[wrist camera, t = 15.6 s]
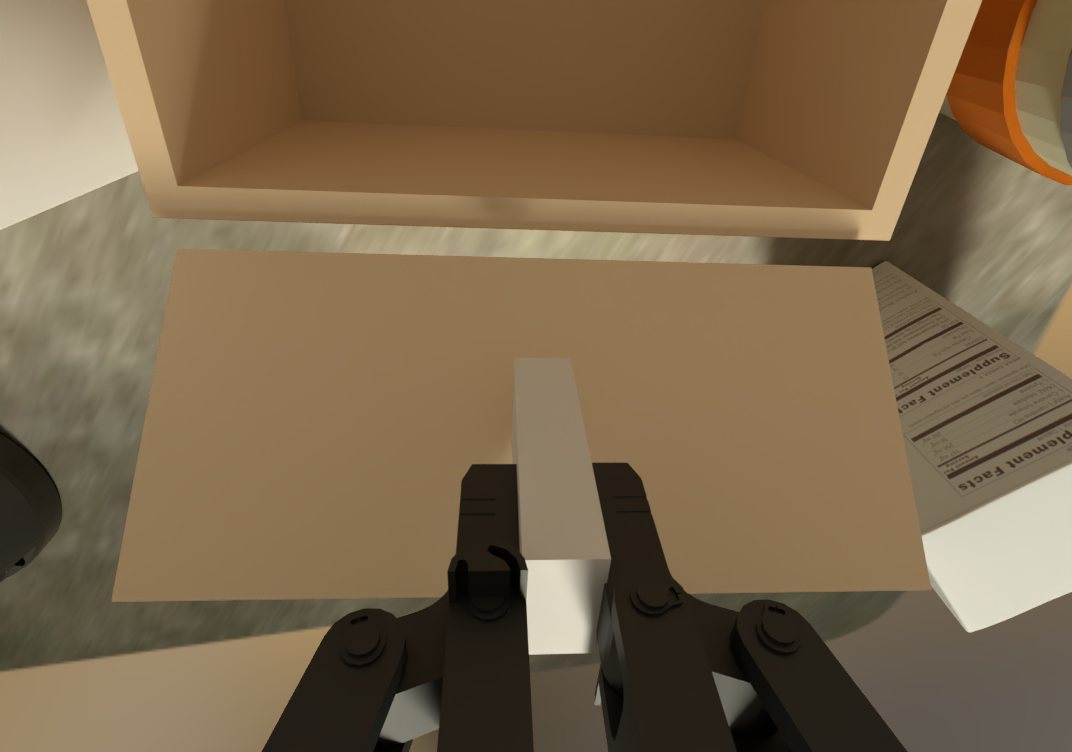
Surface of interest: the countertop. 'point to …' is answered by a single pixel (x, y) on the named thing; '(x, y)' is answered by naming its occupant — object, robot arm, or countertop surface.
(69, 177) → the canister
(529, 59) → the carton
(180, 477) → the flap
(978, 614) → the supplement box
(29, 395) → the countertop surface
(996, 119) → the reusable coffee cup
